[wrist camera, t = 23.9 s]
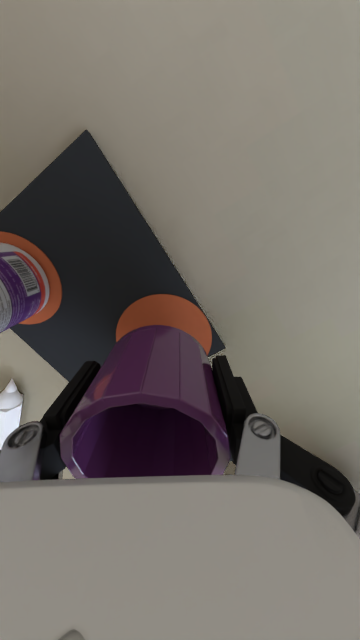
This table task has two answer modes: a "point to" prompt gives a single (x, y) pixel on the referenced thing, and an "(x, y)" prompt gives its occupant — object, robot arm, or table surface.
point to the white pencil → (9, 410)
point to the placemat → (94, 263)
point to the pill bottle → (20, 286)
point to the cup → (148, 412)
